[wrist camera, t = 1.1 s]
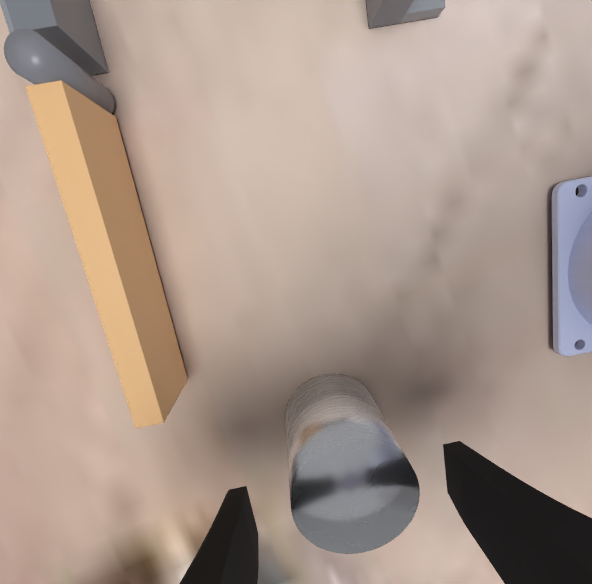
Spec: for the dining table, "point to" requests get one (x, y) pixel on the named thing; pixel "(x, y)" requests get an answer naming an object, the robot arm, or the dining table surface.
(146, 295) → the gate
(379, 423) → the steel cylinder
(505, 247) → the dining table surface
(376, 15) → the housing
